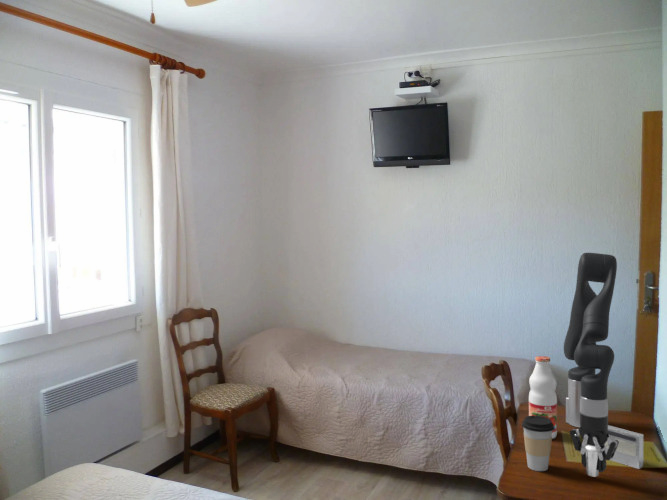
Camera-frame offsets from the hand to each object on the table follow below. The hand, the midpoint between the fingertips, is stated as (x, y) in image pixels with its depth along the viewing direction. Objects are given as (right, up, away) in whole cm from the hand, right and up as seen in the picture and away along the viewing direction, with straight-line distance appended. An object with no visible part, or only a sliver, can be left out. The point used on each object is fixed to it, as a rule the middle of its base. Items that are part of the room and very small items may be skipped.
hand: (593, 468), depth 166 cm
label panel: (+13, -2, +13) cm, 18 cm away
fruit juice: (-2, -2, +34) cm, 34 cm away
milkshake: (0, -2, 0) cm, 2 cm away
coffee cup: (-13, -3, +9) cm, 16 cm away
